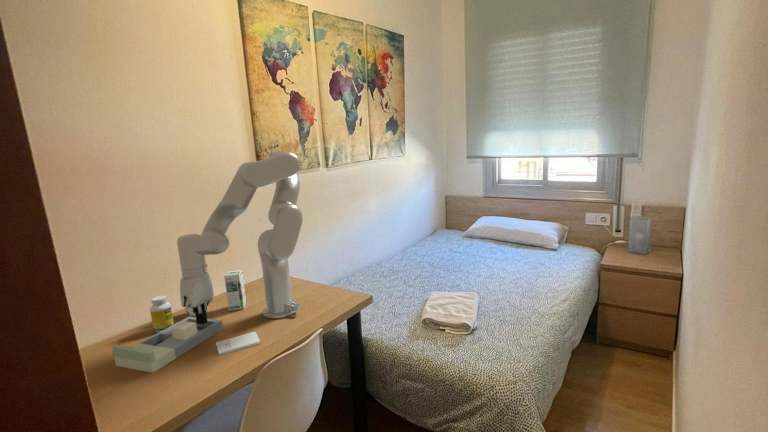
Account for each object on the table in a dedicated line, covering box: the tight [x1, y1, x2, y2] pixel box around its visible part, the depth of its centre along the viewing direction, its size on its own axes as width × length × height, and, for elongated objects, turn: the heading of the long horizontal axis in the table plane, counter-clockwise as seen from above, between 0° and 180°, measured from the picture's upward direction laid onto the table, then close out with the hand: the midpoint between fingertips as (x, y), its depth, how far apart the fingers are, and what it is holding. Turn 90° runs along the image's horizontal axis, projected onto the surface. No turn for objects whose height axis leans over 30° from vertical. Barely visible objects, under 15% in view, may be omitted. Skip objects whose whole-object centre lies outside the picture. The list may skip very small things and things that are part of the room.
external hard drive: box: [215, 331, 261, 356], centre depth 127 cm, size 2×8×12 cm
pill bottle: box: [149, 295, 175, 333], centre depth 141 cm, size 6×6×12 cm
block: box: [172, 321, 198, 340], centre depth 129 cm, size 5×5×4 cm
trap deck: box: [111, 316, 224, 374], centre depth 128 cm, size 15×28×6 cm, turn 160°
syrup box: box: [223, 269, 247, 312], centre depth 156 cm, size 6×6×14 cm
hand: (202, 322), depth 135 cm, fingers closed
